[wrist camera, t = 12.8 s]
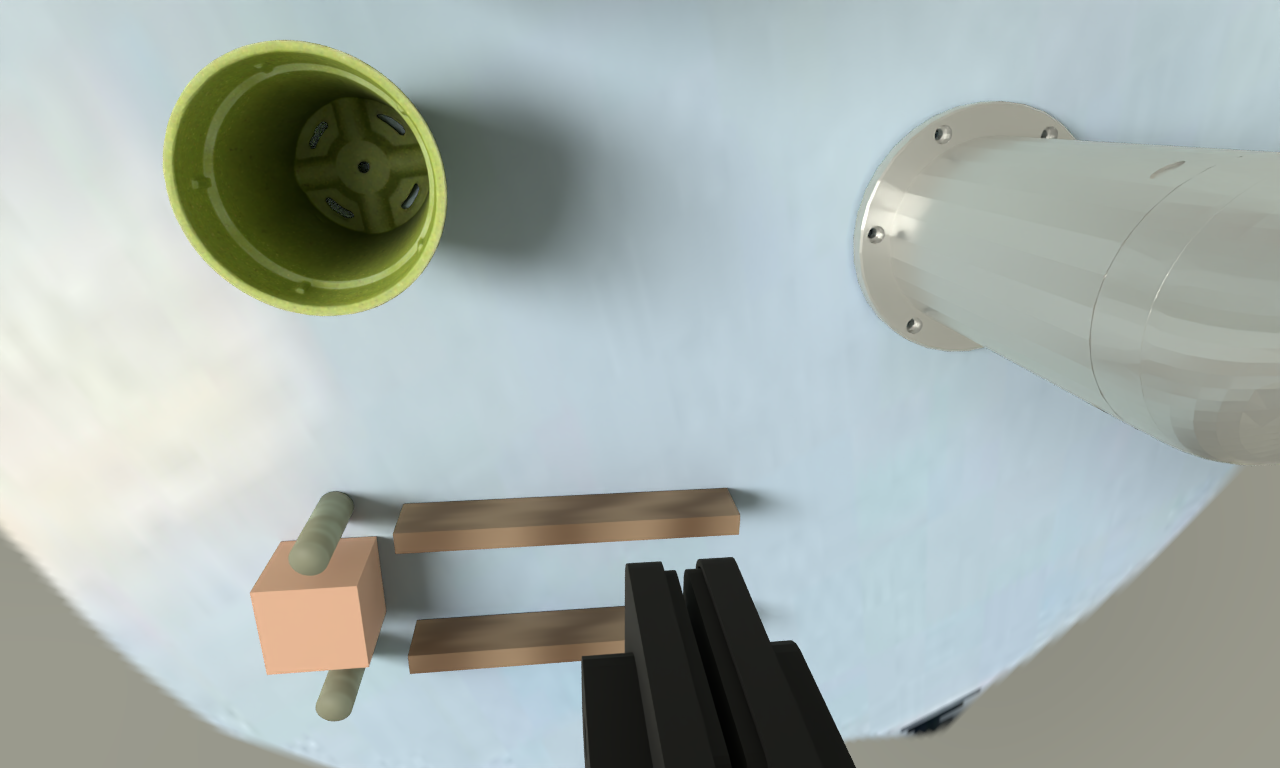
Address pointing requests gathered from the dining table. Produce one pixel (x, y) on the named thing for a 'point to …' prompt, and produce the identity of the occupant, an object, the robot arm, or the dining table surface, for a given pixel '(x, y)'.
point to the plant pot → (304, 178)
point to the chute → (509, 527)
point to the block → (320, 610)
